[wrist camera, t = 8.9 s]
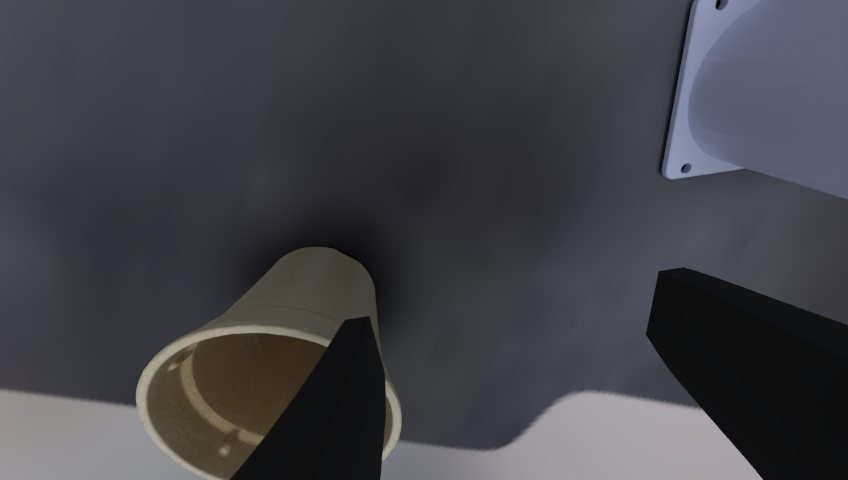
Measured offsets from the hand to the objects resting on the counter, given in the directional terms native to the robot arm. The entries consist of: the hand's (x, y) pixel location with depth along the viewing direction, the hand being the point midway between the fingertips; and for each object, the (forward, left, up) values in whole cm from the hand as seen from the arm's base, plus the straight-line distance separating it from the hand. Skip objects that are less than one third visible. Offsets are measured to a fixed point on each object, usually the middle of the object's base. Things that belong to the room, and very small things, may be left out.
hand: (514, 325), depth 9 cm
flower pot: (+9, +5, -11) cm, 14 cm away
